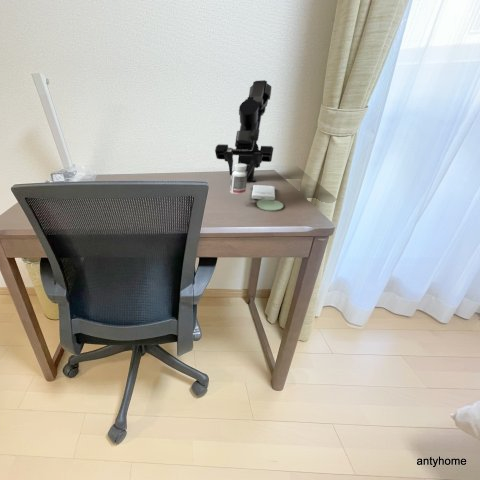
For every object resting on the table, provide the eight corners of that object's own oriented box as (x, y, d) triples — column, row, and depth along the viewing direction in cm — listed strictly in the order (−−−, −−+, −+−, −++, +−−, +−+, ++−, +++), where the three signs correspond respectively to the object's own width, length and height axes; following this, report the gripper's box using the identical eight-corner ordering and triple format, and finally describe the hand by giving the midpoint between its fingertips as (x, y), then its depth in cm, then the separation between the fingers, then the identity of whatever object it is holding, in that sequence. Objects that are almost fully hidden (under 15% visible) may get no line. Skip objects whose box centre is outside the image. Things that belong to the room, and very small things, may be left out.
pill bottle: (248, 192, 91) (252, 165, 86) (238, 196, 88) (241, 168, 83) (236, 188, 95) (239, 161, 89) (226, 191, 92) (228, 164, 87)
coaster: (254, 200, 97) (254, 199, 97) (278, 200, 96) (279, 199, 96) (259, 211, 90) (259, 209, 89) (286, 210, 89) (286, 209, 89)
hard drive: (273, 190, 105) (274, 200, 95) (252, 188, 108) (251, 198, 98) (274, 186, 104) (275, 196, 94) (253, 184, 107) (251, 194, 97)
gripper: (218, 119, 85) (208, 161, 83) (278, 119, 79) (269, 165, 76) (221, 138, 96) (212, 177, 93) (275, 140, 89) (267, 181, 86)
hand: (238, 175), depth 87 cm, fingers closed on pill bottle, 5 cm apart
